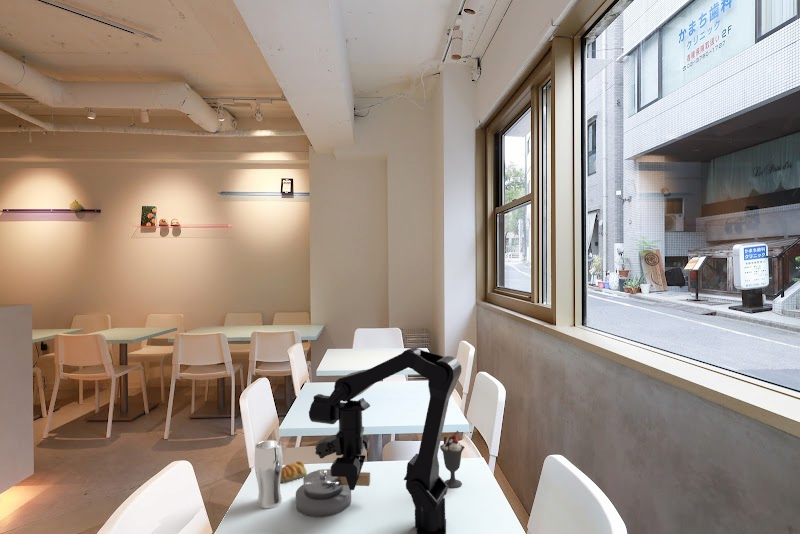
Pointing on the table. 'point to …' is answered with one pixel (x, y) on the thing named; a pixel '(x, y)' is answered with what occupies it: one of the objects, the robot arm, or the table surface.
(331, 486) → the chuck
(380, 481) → the table surface
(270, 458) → the beer glass
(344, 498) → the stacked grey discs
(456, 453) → the sundae
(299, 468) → the pastry
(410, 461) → the robot arm
